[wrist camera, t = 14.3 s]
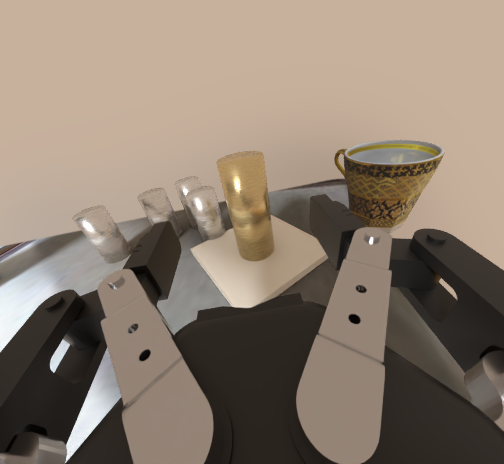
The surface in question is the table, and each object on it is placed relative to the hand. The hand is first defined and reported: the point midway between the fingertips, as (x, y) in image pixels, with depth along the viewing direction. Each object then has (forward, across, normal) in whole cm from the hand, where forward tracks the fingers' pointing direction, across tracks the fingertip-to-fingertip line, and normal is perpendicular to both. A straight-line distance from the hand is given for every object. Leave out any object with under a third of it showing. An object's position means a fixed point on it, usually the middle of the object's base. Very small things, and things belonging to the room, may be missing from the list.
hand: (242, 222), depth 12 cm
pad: (+11, -1, +12) cm, 16 cm away
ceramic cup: (+15, -18, +12) cm, 27 cm away
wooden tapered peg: (+11, -1, +11) cm, 16 cm away
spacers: (+17, +13, +13) cm, 25 cm away
